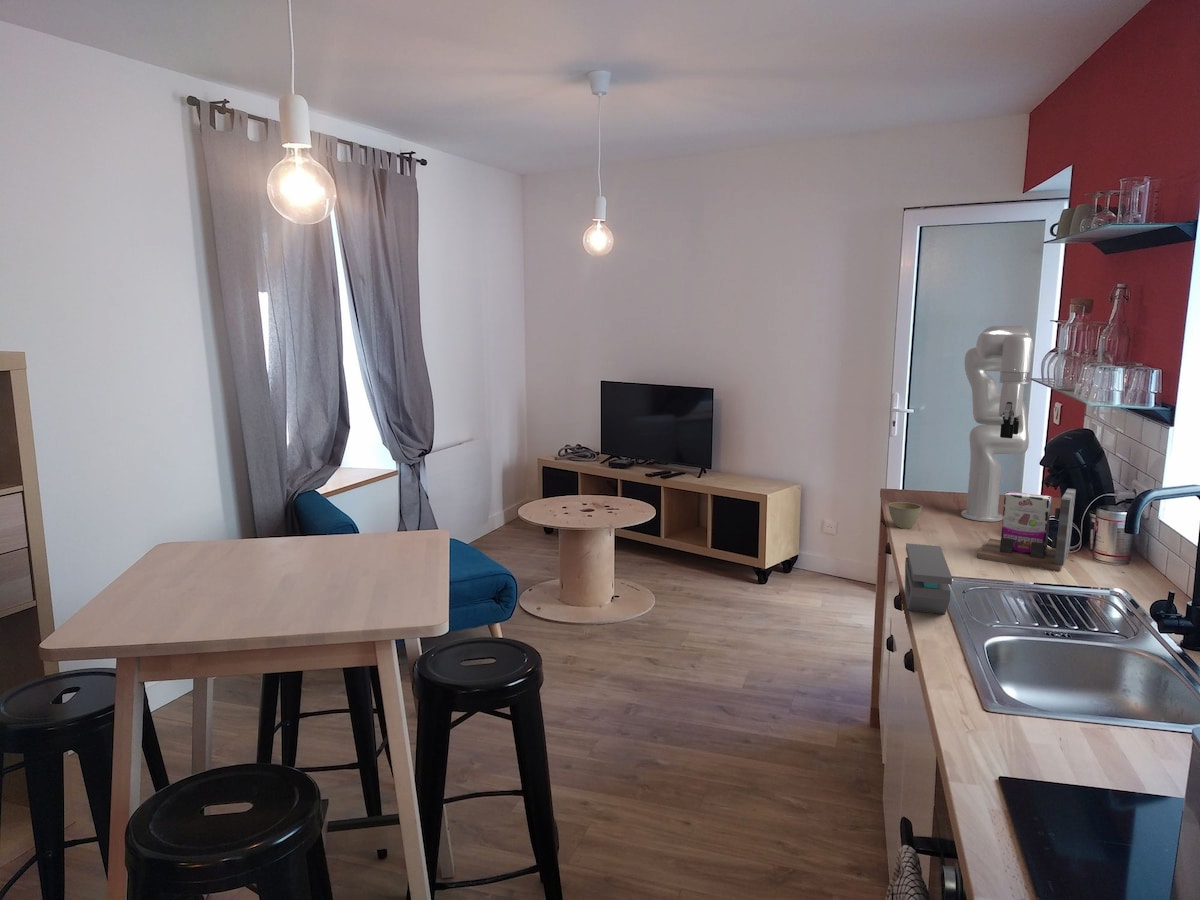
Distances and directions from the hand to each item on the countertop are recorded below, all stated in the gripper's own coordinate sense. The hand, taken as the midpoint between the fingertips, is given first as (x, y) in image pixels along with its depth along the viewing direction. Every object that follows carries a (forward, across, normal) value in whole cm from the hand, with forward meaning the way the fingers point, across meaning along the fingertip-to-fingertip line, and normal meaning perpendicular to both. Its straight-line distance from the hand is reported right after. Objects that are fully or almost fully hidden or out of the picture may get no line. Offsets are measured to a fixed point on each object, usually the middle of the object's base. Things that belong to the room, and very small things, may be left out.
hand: (1009, 435), depth 225 cm
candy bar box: (+31, +12, +8) cm, 34 cm away
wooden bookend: (+32, +13, +8) cm, 36 cm away
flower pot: (+32, 0, -28) cm, 43 cm away
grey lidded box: (+33, +68, -5) cm, 75 cm away
